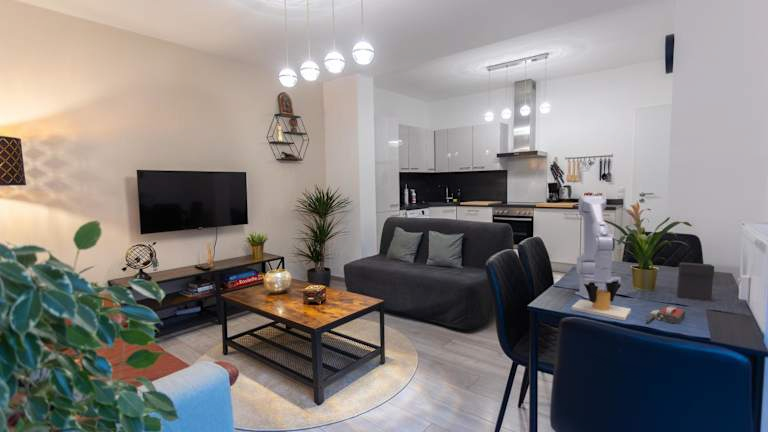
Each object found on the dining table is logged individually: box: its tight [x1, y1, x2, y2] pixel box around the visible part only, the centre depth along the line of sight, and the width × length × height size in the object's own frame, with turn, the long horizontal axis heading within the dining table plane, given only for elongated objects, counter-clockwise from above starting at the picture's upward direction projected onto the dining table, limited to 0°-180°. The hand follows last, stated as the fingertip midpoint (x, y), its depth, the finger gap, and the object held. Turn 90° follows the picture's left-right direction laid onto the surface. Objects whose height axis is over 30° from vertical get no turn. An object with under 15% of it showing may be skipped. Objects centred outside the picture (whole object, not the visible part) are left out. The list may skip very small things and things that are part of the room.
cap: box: [592, 289, 611, 310], centre depth 147 cm, size 6×6×6 cm
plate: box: [570, 299, 632, 322], centre depth 148 cm, size 18×12×5 cm, turn 48°
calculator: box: [676, 262, 715, 301], centre depth 161 cm, size 11×4×15 cm, turn 65°
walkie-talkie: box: [645, 305, 686, 325], centre depth 138 cm, size 9×4×20 cm
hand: (601, 301), depth 147 cm, fingers open, 7 cm apart
